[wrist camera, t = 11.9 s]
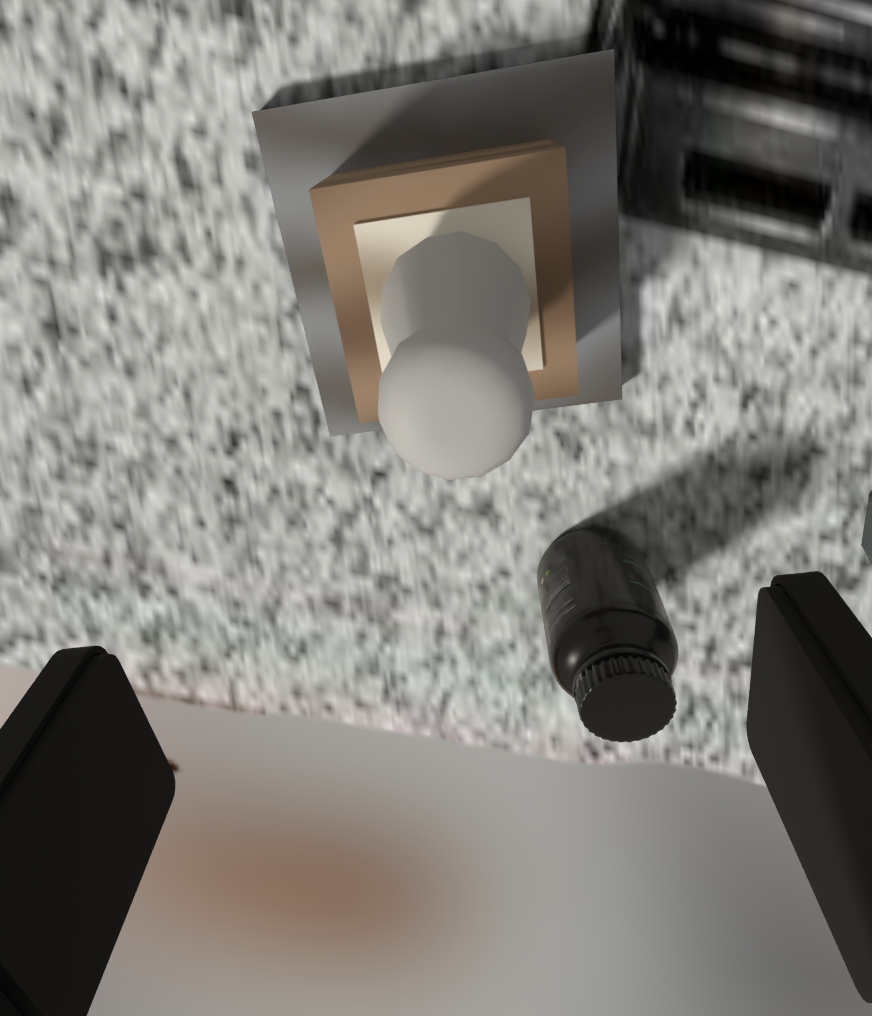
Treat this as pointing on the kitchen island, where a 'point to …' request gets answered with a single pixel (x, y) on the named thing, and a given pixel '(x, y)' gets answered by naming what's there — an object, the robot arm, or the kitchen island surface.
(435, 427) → the salt shaker
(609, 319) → the plinth
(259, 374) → the kitchen island surface
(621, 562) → the supplement bottle
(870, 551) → the bottle
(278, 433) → the kitchen island surface
